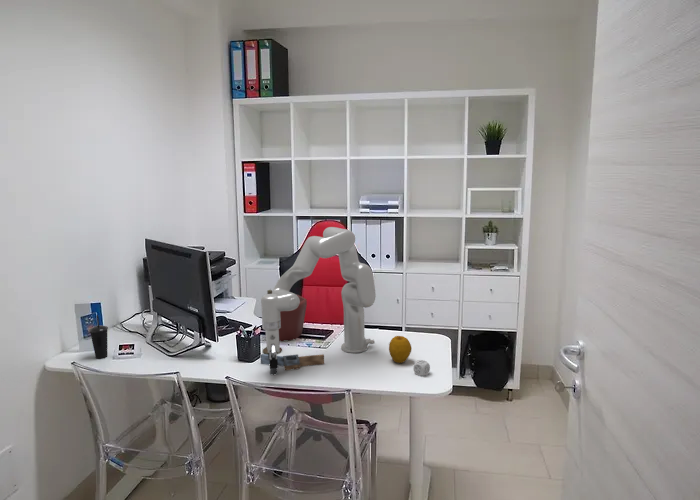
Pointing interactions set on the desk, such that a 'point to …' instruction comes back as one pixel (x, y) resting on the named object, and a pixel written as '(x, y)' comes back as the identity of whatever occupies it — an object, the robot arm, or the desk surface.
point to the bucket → (292, 321)
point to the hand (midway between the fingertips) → (273, 363)
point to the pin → (274, 370)
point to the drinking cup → (99, 340)
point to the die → (421, 367)
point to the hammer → (294, 360)
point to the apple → (399, 349)
